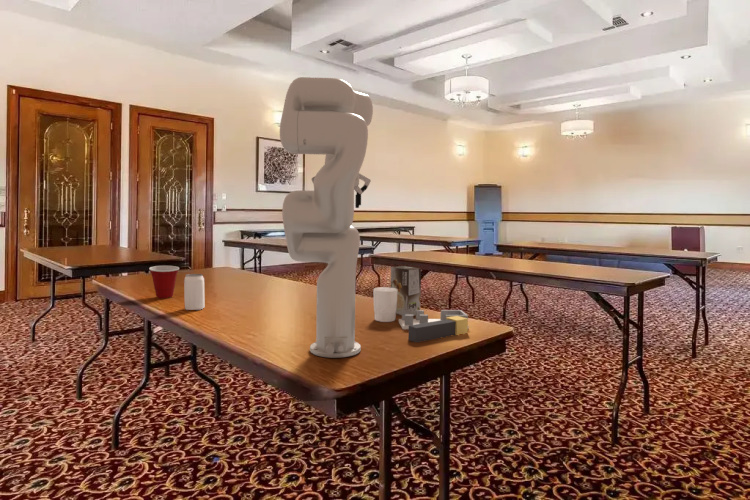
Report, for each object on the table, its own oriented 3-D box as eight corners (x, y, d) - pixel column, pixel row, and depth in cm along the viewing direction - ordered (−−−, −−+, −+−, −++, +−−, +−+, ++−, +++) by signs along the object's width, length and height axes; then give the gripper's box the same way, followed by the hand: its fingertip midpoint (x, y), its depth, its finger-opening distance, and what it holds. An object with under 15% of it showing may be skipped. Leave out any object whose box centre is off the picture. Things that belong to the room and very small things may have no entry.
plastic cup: (153, 300, 170) (153, 269, 170) (146, 296, 179) (145, 266, 178) (183, 297, 177) (183, 267, 177) (175, 293, 186) (174, 264, 185)
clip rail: (468, 329, 136) (468, 315, 136) (402, 329, 135) (403, 316, 134) (460, 321, 145) (460, 309, 145) (398, 322, 144) (398, 309, 143)
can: (185, 307, 160) (185, 273, 159) (205, 306, 162) (204, 273, 161) (183, 311, 154) (183, 276, 153) (204, 310, 156) (203, 275, 155)
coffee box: (421, 314, 155) (422, 268, 154) (408, 317, 151) (409, 269, 149) (402, 310, 162) (403, 265, 161) (389, 312, 158) (390, 266, 156)
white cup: (393, 323, 142) (393, 292, 141) (369, 321, 144) (369, 290, 143) (399, 318, 149) (400, 288, 148) (377, 316, 152) (377, 286, 151)
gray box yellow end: (417, 343, 120) (417, 327, 120) (407, 339, 124) (407, 323, 124) (467, 333, 131) (467, 318, 131) (456, 330, 135) (457, 315, 134)
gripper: (312, 145, 127) (311, 206, 128) (372, 148, 129) (371, 208, 131) (311, 149, 134) (311, 207, 135) (369, 151, 137) (368, 208, 138)
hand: (340, 207), depth 133 cm, fingers open, 9 cm apart
